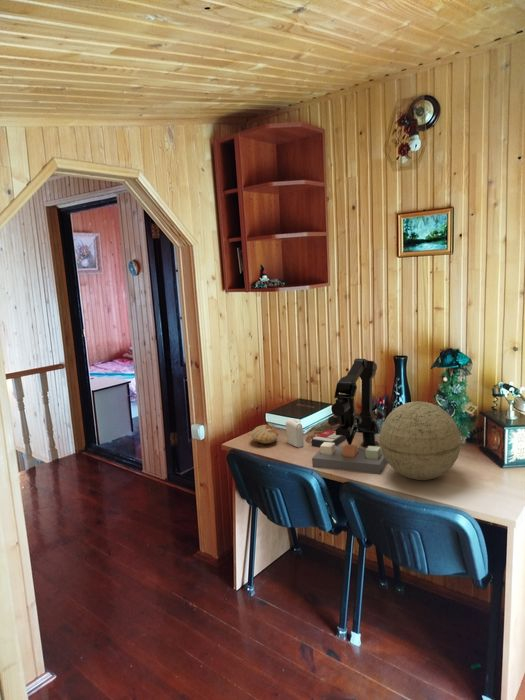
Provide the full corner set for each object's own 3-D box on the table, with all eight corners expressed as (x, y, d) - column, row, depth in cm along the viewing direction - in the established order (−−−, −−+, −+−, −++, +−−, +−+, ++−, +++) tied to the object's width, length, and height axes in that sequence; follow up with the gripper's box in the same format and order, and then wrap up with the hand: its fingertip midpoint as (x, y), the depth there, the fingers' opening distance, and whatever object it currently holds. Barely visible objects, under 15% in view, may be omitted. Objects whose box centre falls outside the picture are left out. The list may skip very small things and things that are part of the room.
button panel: (325, 453, 235) (324, 444, 234) (388, 459, 222) (388, 450, 221) (312, 466, 221) (311, 457, 220) (380, 474, 208) (379, 464, 207)
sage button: (369, 456, 220) (368, 445, 219) (381, 458, 218) (380, 446, 217) (366, 461, 215) (365, 450, 214) (378, 462, 213) (377, 451, 212)
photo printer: (286, 442, 252) (284, 418, 250) (293, 440, 254) (291, 416, 252) (297, 448, 243) (295, 423, 241) (305, 446, 245) (303, 421, 243)
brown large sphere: (454, 499, 182) (452, 417, 177) (371, 487, 197) (368, 411, 192) (466, 466, 208) (465, 394, 203) (392, 458, 223) (389, 390, 218)
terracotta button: (346, 454, 224) (346, 443, 223) (357, 455, 222) (357, 444, 221) (343, 459, 220) (342, 447, 219) (354, 460, 218) (353, 449, 217)
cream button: (324, 452, 229) (324, 441, 228) (335, 453, 226) (334, 442, 226) (321, 456, 224) (320, 446, 223) (331, 458, 222) (331, 446, 221)
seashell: (268, 432, 271) (292, 437, 262) (243, 443, 253) (268, 449, 245) (268, 418, 270) (292, 422, 261) (243, 428, 252) (268, 433, 244)
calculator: (346, 432, 250) (331, 440, 238) (346, 440, 251) (331, 449, 239) (326, 429, 257) (311, 437, 245) (326, 437, 257) (311, 446, 245)
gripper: (336, 402, 229) (338, 435, 232) (322, 414, 213) (324, 450, 215) (360, 403, 224) (362, 437, 227) (348, 416, 208) (350, 453, 210)
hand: (349, 444), depth 220 cm, fingers closed
